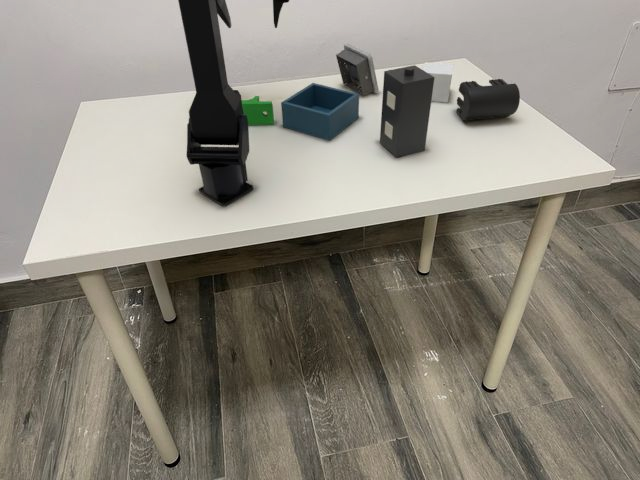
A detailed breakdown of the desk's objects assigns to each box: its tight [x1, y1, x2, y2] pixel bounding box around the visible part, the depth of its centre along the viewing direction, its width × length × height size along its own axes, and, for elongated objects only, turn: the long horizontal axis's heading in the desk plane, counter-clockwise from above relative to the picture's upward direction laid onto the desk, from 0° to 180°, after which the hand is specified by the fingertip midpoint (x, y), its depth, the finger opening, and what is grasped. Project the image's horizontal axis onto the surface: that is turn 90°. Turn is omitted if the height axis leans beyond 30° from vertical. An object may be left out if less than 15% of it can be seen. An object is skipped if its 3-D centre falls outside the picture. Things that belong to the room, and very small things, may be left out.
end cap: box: [455, 78, 521, 121], centre depth 93 cm, size 10×7×7 cm
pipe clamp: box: [242, 95, 275, 126], centre depth 95 cm, size 11×4×5 cm, turn 89°
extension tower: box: [379, 64, 435, 159], centre depth 83 cm, size 6×6×14 cm
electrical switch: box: [335, 43, 380, 97], centre depth 104 cm, size 9×5×9 cm, turn 32°
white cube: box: [422, 61, 454, 103], centre depth 102 cm, size 6×6×6 cm
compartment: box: [280, 82, 360, 141], centre depth 94 cm, size 11×11×5 cm
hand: (253, 26), depth 93 cm, fingers open, 9 cm apart
